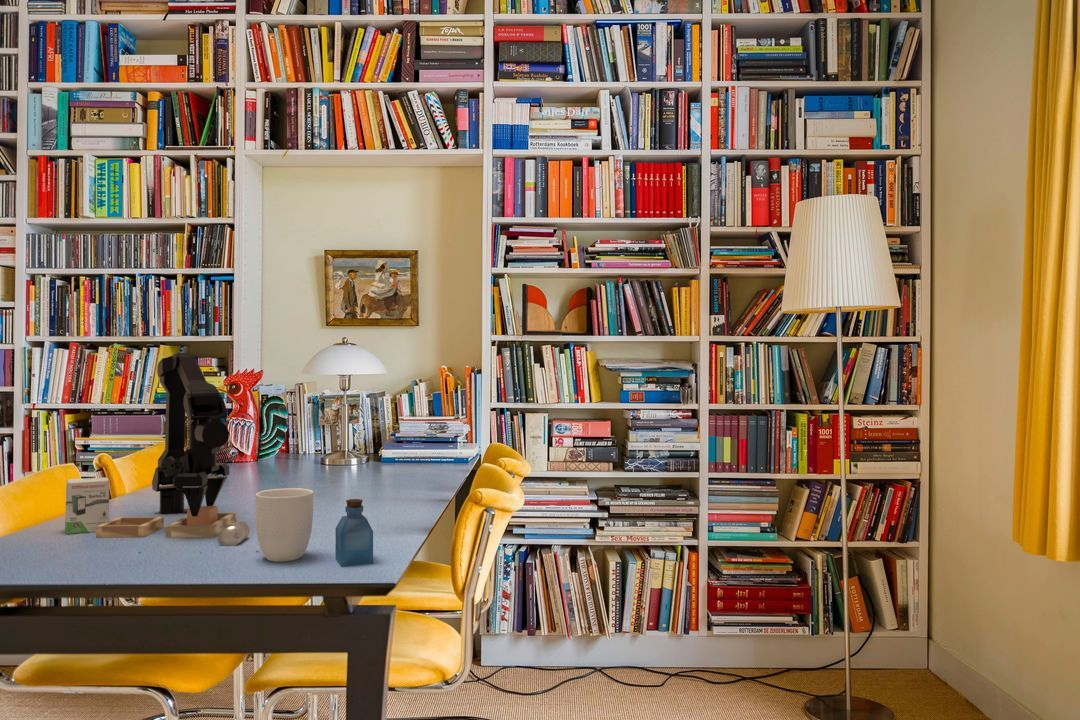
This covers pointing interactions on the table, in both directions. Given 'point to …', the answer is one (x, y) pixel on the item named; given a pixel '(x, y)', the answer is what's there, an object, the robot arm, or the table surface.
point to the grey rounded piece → (233, 534)
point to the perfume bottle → (354, 537)
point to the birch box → (199, 527)
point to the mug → (284, 522)
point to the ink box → (86, 504)
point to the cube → (203, 516)
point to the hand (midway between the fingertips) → (202, 512)
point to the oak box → (129, 527)
